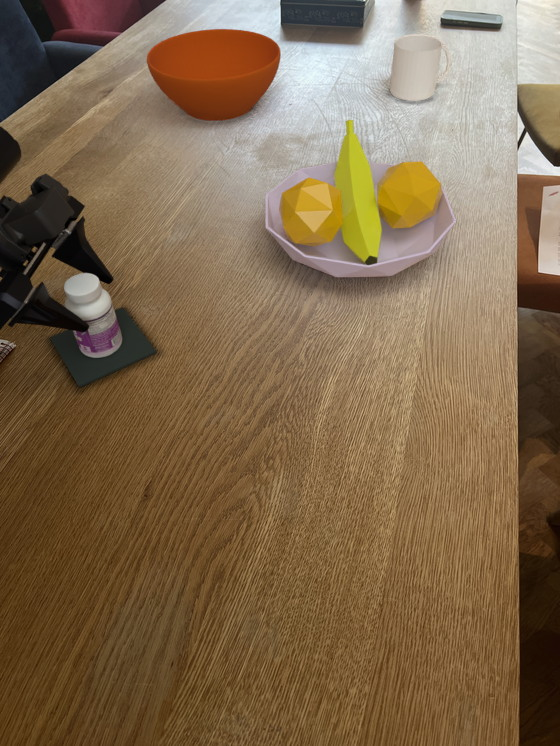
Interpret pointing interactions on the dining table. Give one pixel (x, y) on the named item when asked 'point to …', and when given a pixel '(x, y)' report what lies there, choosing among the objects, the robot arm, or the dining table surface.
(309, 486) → the dining table surface
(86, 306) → the pill bottle
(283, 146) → the dining table surface
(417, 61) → the mug
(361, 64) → the dining table surface
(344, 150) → the fruit bowl
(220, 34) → the bowl
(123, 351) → the mat
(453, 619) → the dining table surface
